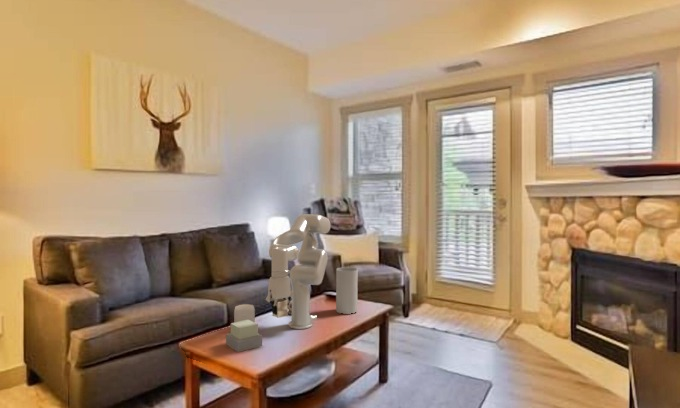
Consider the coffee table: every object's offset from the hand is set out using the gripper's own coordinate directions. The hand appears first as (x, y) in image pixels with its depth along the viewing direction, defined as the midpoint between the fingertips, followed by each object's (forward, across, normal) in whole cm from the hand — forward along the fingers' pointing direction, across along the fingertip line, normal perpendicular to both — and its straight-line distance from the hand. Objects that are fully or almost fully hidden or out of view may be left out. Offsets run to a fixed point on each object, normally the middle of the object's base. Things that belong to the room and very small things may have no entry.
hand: (279, 312), depth 194 cm
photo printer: (+15, +4, -28) cm, 31 cm away
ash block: (+2, 0, 0) cm, 2 cm away
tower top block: (+9, +14, -8) cm, 19 cm away
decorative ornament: (+16, -31, -34) cm, 48 cm away
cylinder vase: (+16, -57, -18) cm, 62 cm away
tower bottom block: (+14, +15, -7) cm, 22 cm away
